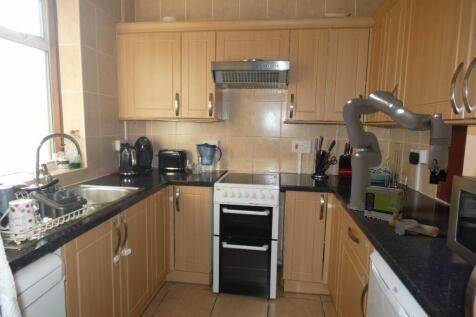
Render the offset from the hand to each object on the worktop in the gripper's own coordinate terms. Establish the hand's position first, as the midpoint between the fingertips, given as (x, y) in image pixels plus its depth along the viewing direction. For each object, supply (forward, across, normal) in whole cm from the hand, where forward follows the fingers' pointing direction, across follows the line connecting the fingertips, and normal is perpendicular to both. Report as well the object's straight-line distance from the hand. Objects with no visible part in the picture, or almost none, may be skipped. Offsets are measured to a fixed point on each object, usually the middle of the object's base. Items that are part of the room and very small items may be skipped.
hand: (437, 182), depth 123 cm
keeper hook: (+21, +13, -7) cm, 26 cm away
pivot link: (+21, +7, -7) cm, 23 cm away
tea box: (+21, -1, -23) cm, 31 cm away
